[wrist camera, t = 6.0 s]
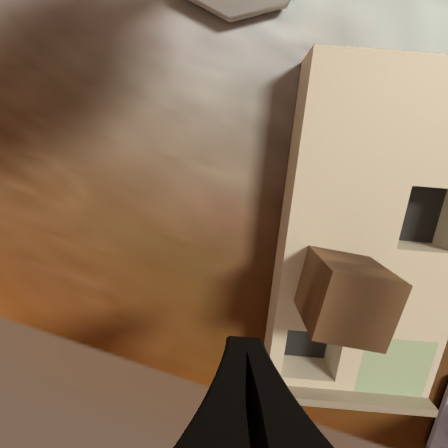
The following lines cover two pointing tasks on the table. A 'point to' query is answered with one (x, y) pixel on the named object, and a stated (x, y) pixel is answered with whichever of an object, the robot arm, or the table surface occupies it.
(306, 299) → the block
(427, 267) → the beige flat block
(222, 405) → the robot arm
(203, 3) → the wineglass
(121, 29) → the table surface
